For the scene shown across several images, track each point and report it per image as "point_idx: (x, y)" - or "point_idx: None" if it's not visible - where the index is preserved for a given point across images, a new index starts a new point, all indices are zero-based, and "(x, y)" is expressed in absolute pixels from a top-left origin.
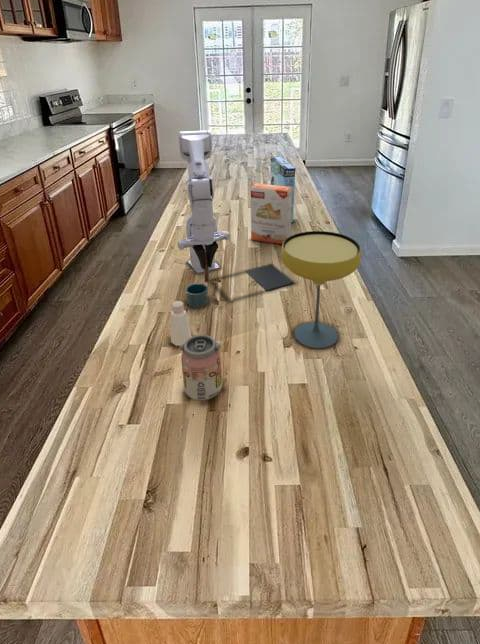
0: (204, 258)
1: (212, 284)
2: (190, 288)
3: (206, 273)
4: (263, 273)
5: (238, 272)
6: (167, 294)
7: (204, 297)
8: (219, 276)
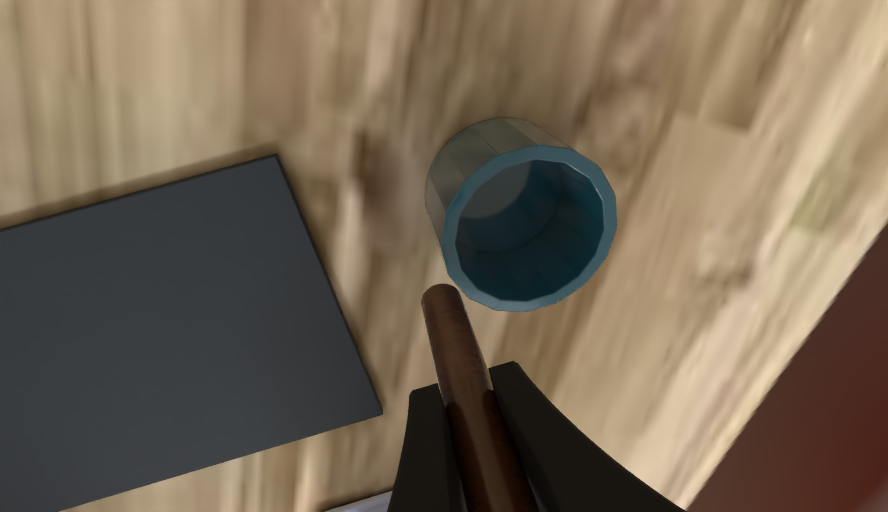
0: (554, 481)
1: (373, 373)
2: (558, 274)
3: (461, 337)
4: (1, 453)
5: (197, 475)
6: (643, 308)
7: (470, 154)
8: (322, 445)
